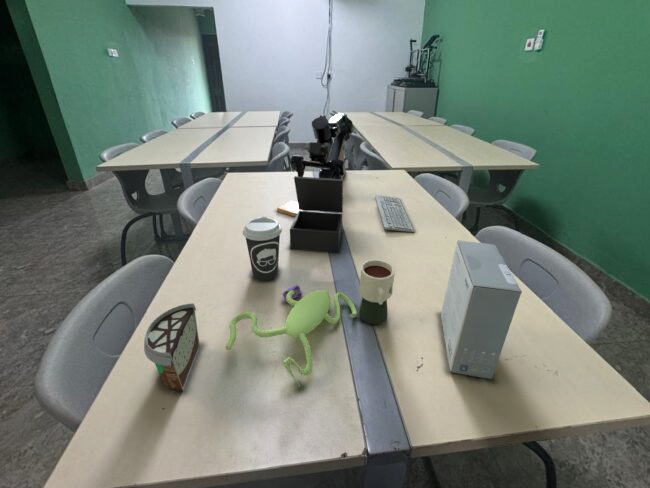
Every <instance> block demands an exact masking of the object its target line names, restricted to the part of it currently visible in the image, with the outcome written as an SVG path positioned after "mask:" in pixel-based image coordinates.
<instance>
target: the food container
mask: <svg viewBox="0 0 650 488" xmlns="http://www.w3.org/2000/svg"><path fill="white" fill-rule="evenodd" d="M196 311H197V308H196V305H195V303H185V304H181V305H178V306H174V307H172V308H170V309H168V310H166V311H164V312H163V313H161V314H160V315H159V316H157V317H156V318H155V319H154V320H153V321H152V322H151V323H150V325H149V326H148V328H147V330H146V332H145V335H144V339H143V340H144V342H143V344H144V345H143V346H144V347H143V351H144V354H145V357H146V358H147V359H148V360H149V361H151V362H152V363H154V365H155V368H156V369H157V372H158V374H159V376H160V379H161V381H162V383H163V384H164V386H165V387H166V388H168V389H169V390H171V391H176V392H184V389H185V387H186V384H187V382H188V379H189V376H190V374H191V372H192V368H193V367H194V366H193V365H194V363H195V361H196V358H197V355H198V352H199V350H200V348H201V347H200V346H201V345H200V339H199V337H200V336H199V330H198V324H197V323H198V322H197V316H196Z"/></svg>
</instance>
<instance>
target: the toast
mask: <svg viewBox="0 0 650 488" xmlns="http://www.w3.org/2000/svg"><path fill="white" fill-rule="evenodd" d="M276 211H277V212H278V213H282V214H285V215H288V216H292V217H294V218H296V216H297V214H298V212H299V207H298V201H297V200H292V199H291V200H289V201H288V202H285V203H283V204H282V205H280V206H277V207H276ZM304 211H308V210H304Z"/></svg>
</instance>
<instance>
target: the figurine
mask: <svg viewBox="0 0 650 488" xmlns="http://www.w3.org/2000/svg"><path fill="white" fill-rule="evenodd" d="M281 295H282V297H283V300H284V301H285V303H288V304H289V305H291V306H293V307H292V308H291V310H290V311H289V313H288V315H287V317H286V321H285V323H284V326H283V327H280V328H276V329H270V330H262V329H260V328H259V327H258V316H257V314H256V313H254V312H250V311H249V312H248V311H246V312H242V313H240V314H238V315H236V316H234V317H233V318H232V319H231V320H230V322H229V324H228V325H229V326H228V328H229V332H230V333H229V339H228V341H227V343H226V345H225V349H226V350H227V351H228V352H231V351H232V349H233V346H234V345H235V342H236V340H237V339H236V338H237V327H236V326H237V325H236V324H237V323H238V322H241V321H242V320H245V319H250V320H251V327H250V328H251V332H252V333H253V334H255V336H258V337H259V338H271V337H276V336H277V337H278V336H282V335H285V334H286V335H287V336H289V337H291V338H295V339H296V338H299V340H300V342H301V344H302V346H303V350H304V354H305V360H306V364H305V365H306V366H305V368H304V369H302V368H301V367H300V365H299V364H298V363H297V362H296V360H295V359H293V358H292V357H290V356H288V357H286V358H285V359H284V360H283V361H282V362H283V366H284V368H285V370H286V371H287V373H288V374H289V375H290V376H291V377H292V378H293V380H294V381H295V382H296V384H297V385H298V387H301V385H300V383H299V381H298V380H297V378H296V376H295V374H294V373H293V371H292V369H291V367H290V365H291V364H292V363H293V364H294V366H295V367H296V368H297V370H298V372H299V373H300V375H301V376H305V377H308V376H309V375H310V374H311V372H312V370H313V367H314V366H313V364H314V363H313V355H312V349H311V345H310V342H309V340H308V338H307V336H306V335H307V334H309V333H311V332H313V330H316V328H317V327H318V326H319V325H320V324H321V323H322V322H323V321H324V320H326V321H327V322H328V323H330V324H332V325H336V324H337V323H339V321H340V317H341V305H340V301H339V298H340V299H341V300H343V301H344V302H345V303H346V304H347V305H348V307H349V308H350V310H351V313H350V314H349V317H350V318H351V319H355V318H356V317H357V314H358V310H357V308H356V305H355V304H354V303H353V301H352V300H351V299H350V297H349V296H347V294H344V293H343V292H340V291H338V292H336V293H335V294H334V295H333V304H334V311H335V312H334V318H333V317H332V316H331V315H330V314H329V313H328V312H329V310H330V308H331V303H332V298H331V296H330V293H329V292H328V291H327V290H325V289H316V290H315V289H314V290H313V291H311V292H309V293H307V294H306V295H305V296H303V297H302V295H303V292H302V290H301V287H300V285H299V283H296V284H295V285H293V286H291V287H289V288H288V289H286V290H285V291H283V292H282V293H281ZM299 297H302V298H301V299H299V300H295V299H296V298H299Z"/></svg>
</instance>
